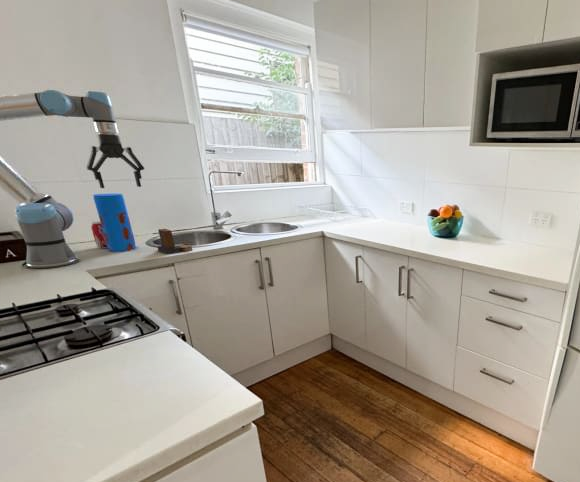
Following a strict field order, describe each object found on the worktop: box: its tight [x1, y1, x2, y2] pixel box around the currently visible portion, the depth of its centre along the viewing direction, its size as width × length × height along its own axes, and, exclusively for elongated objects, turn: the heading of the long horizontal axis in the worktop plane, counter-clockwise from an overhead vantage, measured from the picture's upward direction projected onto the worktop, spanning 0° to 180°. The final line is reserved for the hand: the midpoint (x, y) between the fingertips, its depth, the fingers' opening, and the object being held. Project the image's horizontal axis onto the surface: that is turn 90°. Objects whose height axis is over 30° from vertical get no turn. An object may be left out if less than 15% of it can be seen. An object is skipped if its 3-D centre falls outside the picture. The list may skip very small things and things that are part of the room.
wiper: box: [157, 228, 182, 255], centre depth 177 cm, size 6×10×10 cm, turn 51°
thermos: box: [92, 192, 137, 253], centre depth 176 cm, size 11×11×25 cm
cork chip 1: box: [174, 243, 185, 247], centre depth 183 cm, size 4×4×2 cm
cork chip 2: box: [179, 244, 193, 253], centre depth 181 cm, size 4×4×2 cm
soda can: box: [90, 220, 109, 250], centre depth 181 cm, size 7×7×12 cm
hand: (121, 187), depth 167 cm, fingers open, 13 cm apart
